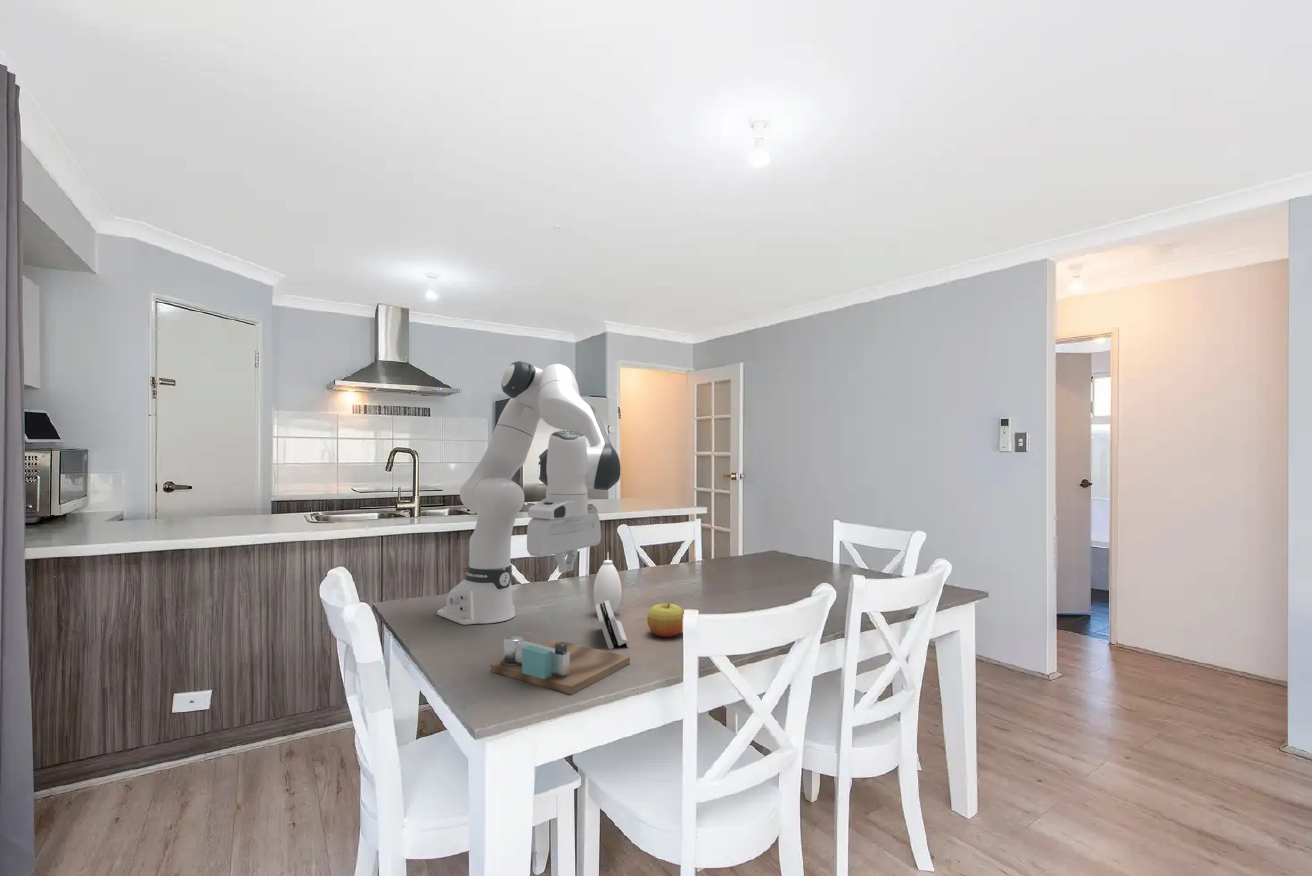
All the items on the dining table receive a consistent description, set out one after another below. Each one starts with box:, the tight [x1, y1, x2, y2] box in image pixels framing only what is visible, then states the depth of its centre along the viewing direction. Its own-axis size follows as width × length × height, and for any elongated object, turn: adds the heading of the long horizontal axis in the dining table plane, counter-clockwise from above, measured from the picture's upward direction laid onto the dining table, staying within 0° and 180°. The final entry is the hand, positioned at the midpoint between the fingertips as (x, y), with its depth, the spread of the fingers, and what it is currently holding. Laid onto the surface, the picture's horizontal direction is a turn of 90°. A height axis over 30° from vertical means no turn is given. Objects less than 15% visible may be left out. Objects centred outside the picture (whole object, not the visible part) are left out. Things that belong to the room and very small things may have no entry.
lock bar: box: [502, 635, 570, 675], centre depth 126 cm, size 17×4×6 cm, turn 57°
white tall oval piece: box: [592, 552, 622, 614], centre depth 172 cm, size 8×8×18 cm
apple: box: [646, 602, 685, 638], centre depth 155 cm, size 10×10×8 cm
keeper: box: [522, 646, 552, 679], centre depth 123 cm, size 6×2×5 cm, turn 58°
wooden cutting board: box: [490, 639, 631, 696], centre depth 131 cm, size 22×20×2 cm
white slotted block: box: [595, 600, 631, 650], centre depth 151 cm, size 17×5×10 cm, turn 9°
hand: (565, 571), depth 129 cm, fingers closed
